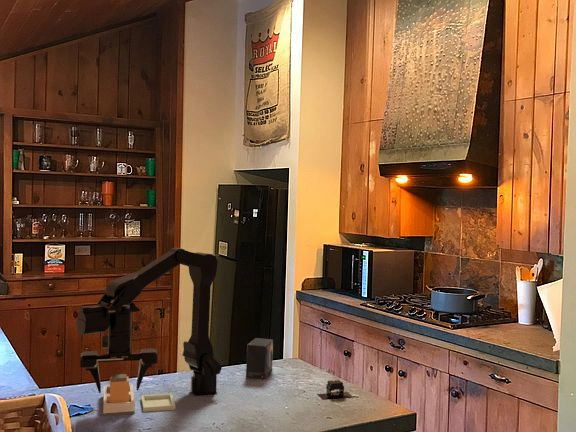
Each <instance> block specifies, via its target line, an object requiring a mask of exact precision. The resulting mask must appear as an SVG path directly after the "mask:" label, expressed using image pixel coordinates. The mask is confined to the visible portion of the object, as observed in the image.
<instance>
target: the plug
mask: <svg viewBox="0 0 576 432" xmlns="http://www.w3.org/2000/svg"><path fill="white" fill-rule="evenodd" d="M129 384H130V380H129V376H127V374H126V373H121V374H120V373H119V374H117V373H116V374H112V376H111V377H110V378H109V386H110V403H120V402H129Z"/></svg>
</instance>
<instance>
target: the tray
mask: <svg viewBox="0 0 576 432" xmlns="http://www.w3.org/2000/svg"><path fill="white" fill-rule="evenodd" d="M140 400H141V405H142V411H143V412H144V413H145V412H157V411H168V410H169V411H170V410H171V411H173V410H176V409H177V408H176V402H175V400H174V397H173V394H172V393H160V394H159V393H158V394H148V395H147V394H146V395H145V394H143V395H142V394H141V399H140Z"/></svg>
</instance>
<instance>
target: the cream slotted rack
mask: <svg viewBox="0 0 576 432" xmlns="http://www.w3.org/2000/svg"><path fill="white" fill-rule="evenodd" d="M135 402H136V401H135V395H134V387H133V383H129V402H120V403H110V385H103V411H102V412H103V417H108V416H121V415H134V414H136V413H135V411H136V410H135V409H136V406H135V405H136V404H135Z"/></svg>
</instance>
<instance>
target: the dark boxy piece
mask: <svg viewBox="0 0 576 432" xmlns="http://www.w3.org/2000/svg"><path fill="white" fill-rule="evenodd" d="M325 388H326V392H325V393H324V392H323V393H316V396H318V397H319V399H321V400H323V401H326V400H327V401H328V400H330V401H331V400H339V399H340V400H342V399H353V398H355V397H354V396H353V395H352V394H351V393H350V392H348V391H345V386H344V382H343V381H342V380H340V379H334V380H327V384H326V387H325ZM335 390H336V391H335Z"/></svg>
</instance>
